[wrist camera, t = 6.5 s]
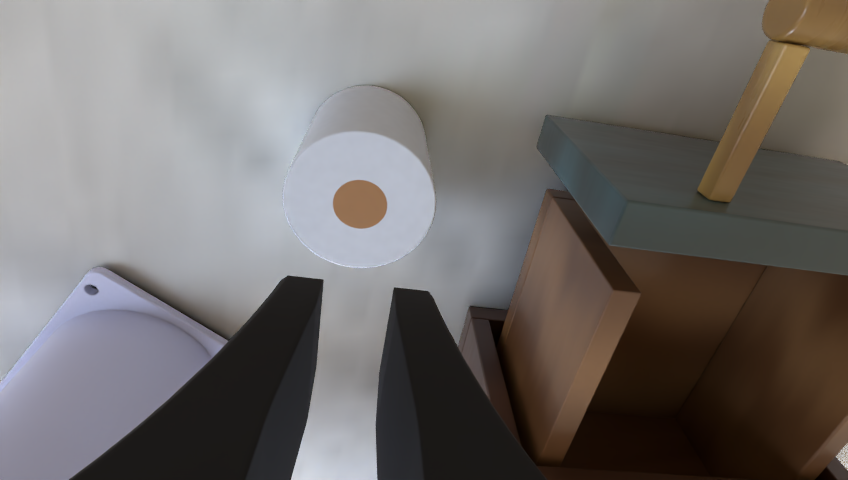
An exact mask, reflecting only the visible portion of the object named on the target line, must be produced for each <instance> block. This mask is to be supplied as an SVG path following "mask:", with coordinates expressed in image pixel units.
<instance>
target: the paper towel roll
mask: <svg viewBox="0 0 848 480" xmlns="http://www.w3.org/2000/svg"><path fill="white" fill-rule="evenodd" d="M283 207H284V211H285V215H286V218H287V220H288V223H289V225H290V227H291V228H292V230H293V232H294V233H295V235H296V236H297V237H298V239H299V240H300V241H301V242H302V243H303V244H304V245H305V246H306V247H307V248H308V249H309V250H311V251H312V252H313V253H315V254H316V255H318V256H319V257H321V258H323V259H325V260H327V261H329V262H332V263H335V264H338V265H342V266H346V267H353V268H371V267H378V266H383V265H386V264H389V263H392V262H394V261H397V260H399V259H401V258H402V257H404V256H406V255H407V254H409V253H410V252H411V251H412V250H414V249H415V248H416V247H417V246H418V245H419V244H420V243H421V241H422V240H423V239H424V237H425V236H426V235H427V233H428V231H429V229H430V227H431V225H432V222H433V219H434V215H435V211H436V192H435V186H434V181H433V175H432V170H431V164H430V158H429V153H428V147H427V142H426V136H425V131H424V127H423V125H422V122H421V120H420V118H419V116H418V114H417V113H416V111H415V110H414V108H413V107H412V106H411V105H410V104H409V103H408V102H407V101H406V100H404V99H403V98H402V97H401V96H399V95H397V94H396V93H394V92H392V91H390V90H387V89H384V88H381V87H376V86H367V85H363V86H354V87H350V88H346V89H344V90H341V91H339V92H337V93H335V94H334V95H332V96H331V97H330V98H328V99H327V100H326V101H325V102H324V103H323V104H322V105H321V106H320V108H319V109H318V110H317V112H316V114H315V116H314V118H313V120H312V122H311V124H310V126H309V128H308V130H307V132H306V134H305V136H304V138H303V140H302V143H301V145H300V147H299V149H298V151H297V153H296V155H295V157H294V159H293V161H292V163H291V166H290V168H289V170H288V172H287V175H286V178H285V181H284V186H283Z"/></svg>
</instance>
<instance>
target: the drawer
mask: <svg viewBox="0 0 848 480" xmlns="http://www.w3.org/2000/svg"><path fill="white" fill-rule="evenodd" d="M762 29H763V32H764V34H765V35H766V36H767V37H768V38H770V39H772V40H769V41H768V43H767V45H766V47H765V49H764V51H763V53H762V55H761V57H760V59H759V61H758V64H757V66H756V68H755V70H754V72H753V74H752V76H751V78H750V80H749V82H748V84H747V86H746V89H745V91H744V93H743V95H742V97H741V99H740V101H739V103H738V105H737V107H736V109H735V112H734V114H733V116H732V118H731V120H730V122H729V124H728V126H727V128H726V130H725V132H724V135H723V137H722V139H721V141H720V142H715V141H708V140H702V139H696V138H689V137H683V136H677V135H671V134H664V133H658V132H652V131H645V130H639V129H633V128H627V127H620V126H614V125H608V124H601V123H595V122H589V121H583V120H576V119H570V118H564V117H558V116H551V115H546V116H545V119H544V123H543V126H542V130H541V133H540V137H539V140H538V143H537V149H538V150H539V151H540V153H541V154H542V156H543V157H544V158H545V160H546V161H547V162H548V164H549V165H550V166H551V168H552V169H553V170H554V172H555V173H556V175H557V176H558V177H559V179H560V180H561V181H562V183H563V184H564V185H565V187H566V188H567V189H568V191H562V190H554V189H547V190H546V193H545V196H544V199H543V202H542V205H541V209H540V212H539V215H538V218H537V221H536V224H535V227H534V231H533V234H532V237H531V240H530V243H529V246H528V250H527V253H526V256H525V259H524V262H523V265H522V269H521V272H520V275H519V278H518V281H517V284H516V287H515V291H514V294H513V297H512V300H511V303H510V306H509V310H508V313H507V316H506V319H505V322H504V325H503V328H502V332H501V335H500V338H499V341H498V344H497V347H496V350H497V354H498V358H499V361H500V365H501V369H502V373H503V377H504V381H505V384H506V388H507V392H508V396H509V400H510V404H511V407H512V411H513V415H514V419H515V423H516V427H517V430H518V434H519V438H520V442H521V446H522V448H523V449H524V450H525V452H526V453H527V454H528V456H529V457H530V458H531V460H532V461H533V462H534V463H535V465H536V466H548V467H564V468H580V469H596V470H612V471H628V472H644V473H660V474H676V475H693V476H709V477H725V478H741V479H757V480H815V479H816V478H817V477H818V476H819V474H820V473H821V472H822V471H823V470H824V469H825V468H826V466H827V465H828V464H829V463H830V462H831V461H832V460H833V459H834V457H835V456H836V455H837V454H838V453H839V452H840V451H841V449H842V448H843V447H844V446H845V445H846V444H847V443H848V165H846V164H844V163H842V162H840V161H834V160H828V159H821V158H815V157H809V156H802V155H796V154H790V153H784V152H777V151H771V150H765V149H759V147H760V145H761V143H762V141H763V139H764V138H765V136H766V134H767V132H768V130H769V128H770V126H771V124H772V122H773V120H774V118H775V116H776V115H777V113H778V111H779V109H780V107H781V105H782V103H783V101H784V99H785V97H786V95H787V93H788V92H789V90H790V88H791V86H792V84H793V82H794V80H795V78H796V76H797V74H798V72H799V70H800V69H801V67H802V65H803V63H804V61H805V59H806V57H807V55H808V53H809V51H810V49H809V48H808V47H812V48H817V49H823V50H828V51H833V52H838V53H843V54H848V0H769V2H768V4H767V6H766V8H765V11H764V14H763V18H762ZM801 45H802V46H801ZM806 46H807V47H806Z"/></svg>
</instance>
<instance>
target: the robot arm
mask: <svg viewBox="0 0 848 480" xmlns="http://www.w3.org/2000/svg"><path fill="white" fill-rule="evenodd" d="M90 285H94V286H95V287H97V288H98V289H94V288H92V287H91V286H90ZM322 292H323V280H322V279H313V278H304V277H295V276H287V277H285V278H284V279H282V280H281V281H280V282H279V284H278V285H277V286H276V288H275V289H274V290H273V291H272V293H271V294H270V295H269V296H268V298H267V299H266V300H265V301H264V302H263V304H262V305H261V306H260V307H259V308H258V310H257V311H256V312H255V313H254V314H253V315H252V316H251V317H250V319H249V320H248V321H247V322H246V323H245V324H244V325H243V326H242V327H241V329H240V330H239V331H238V332H237V333H236V334H235V335H234V336H233V337H232V338H231V339H230V340H229V341H228V340H226V339H224V338H223V337H221V336H219V335H218V334H216V333H214V332H213V331H211V330H209V329H207V328H206V327H204V326H202V325H201V324H199V323H197V322H196V321H194V320H192V319H191V318H189V317H187V316H186V315H184V314H182V313H181V312H179V311H177V310H175V309H174V308H172V307H170V306H169V305H167V304H165V303H164V302H162V301H160V300H159V299H157V298H155V297H154V296H152V295H150V294H148V293H147V292H145V291H143V290H142V289H140V288H138V287H137V286H135V285H133V284H132V283H130V282H128V281H127V280H125V279H123V278H122V277H120V276H118V275H116V274H115V273H113V272H111V271H110V270H108V269H106V268H103V267H95V268H92V269H91V270H90V271H89V272H88V273H87V274H86V275H85V276H84V278H83V279H82V280H81V281H80V283H79V284H78V285H77V286H76V288H75V289H74V290H73V291H72V293H71V294H70V295H69V297H68V298H67V299H66V300H65V302H64V303H63V304H62V305H61V307H60V308H59V309H58V310H57V312H56V313H55V314H54V316H53V317H52V318H51V319H50V321H49V322H48V323H47V324H46V326H45V327H44V328H43V330H42V331H41V332H40V333H39V335H38V336H37V337H36V338H35V340H34V341H33V342H32V343H31V345H30V346H29V347H28V349H27V350H26V351H25V352H24V354H23V355H22V356H21V357H20V359H19V360H18V361H17V362H16V364H15V365H14V366H13V368H12V369H11V370H10V371H9V373H8V374H7V375H6V376H5V378H4V379H3V380H2V382H1V383H0V480H291V477H292V473H293V469H294V466H295V462H296V459H297V455H298V451H299V448H300V444H301V441H302V437H303V433H304V430H305V426H306V422H307V418H308V412H309V406H310V400H311V395H312V389H313V383H314V377H315V371H316V363H317V351H318V340H319V328H320V316H321V304H322ZM376 448H377V477H378V480H547V479H546V477H545V476H544V475H543V474H542V472H541V471H540V470H539V469H538V467H537V466H536V465H535V463H534V462H533V461H532V460H531V458H530V457H529V456H528V454H527V453H526V452H525V450H524V449H523V448H522V446H521V445H520V443H519V442H518V441H517V439H516V438H515V437H514V435H513V434H512V432H511V431H510V430H509V428H508V427H507V425H506V424H505V422H504V421H503V419H502V418H501V416H500V415H499V413H498V412H497V411H496V409H495V408H494V406H493V405H492V403H491V402H490V400H489V398H488V397H487V395H486V394H485V392H484V391H483V389H482V387H481V386H480V384H479V382H478V381H477V379H476V377H475V376H474V374H473V372H472V371H471V369H470V367H469V366H468V364H467V362H466V361H465V359H464V357H463V356H462V354H461V352H460V350H459V348H458V347H457V345H456V343H455V341H454V339H453V337H452V335H451V334H450V332H449V330H448V328H447V326H446V324H445V322H444V320H443V318H442V316H441V314H440V312H439V310H438V307H437V305H436V303H435V301H434V298H433V297H432V295H431V294H430V293H429V292H428V291H421V290H412V289H403V288H394V290H393V296H392V302H391V308H390V314H389V319H388V325H387V331H386V337H385V343H384V349H383V354H382V360H381V366H380V372H379V385H378V399H377V414H376Z"/></svg>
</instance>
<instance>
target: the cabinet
mask: <svg viewBox="0 0 848 480" xmlns="http://www.w3.org/2000/svg"><path fill="white" fill-rule="evenodd" d="M507 313H508V310H499V309H489V308H480V307H469V308H468V312H467V315H466V319H465V323H464V327H463V330H462V334H461V338H460V342H459V345H458V348H459V350H460V352H461V354H462V356H463V357H464V359H465V361H466V362H467V364H468V366H469V367H470V369H471V371H472V372H473V374H474V376H475V377H476V379H477V381H478V382H479V384H480V386H481V387H482V389H483V391H484V392H485V394H486V395H487V397H488V398H489V400H490V402H491V403H492V405H493V406H494V408H495V409H496V411H497V412H498V413H499V415H500V416H501V418H502V419H503V421H504V422H505V424H506V425H507V427H508V428H509V430H510V431H511V432H512V434H513V435H514V437H515V438H516V439H517V441H518V442H519V443H520V445H521V442H520V438H519V434H518V430H517V427H516V423H515V419H514V415H513V411H512V407H511V404H510V400H509V396H508V392H507V388H506V384H505V381H504V377H503V373H502V369H501V365H500V361H499V358H498V354H497V350H496V347H497V344H498V341H499V338H500V335H501V332H502V328H503V325H504V322H505V319H506V316H507ZM537 467H538V469H539V470H540V471H541V472H542V474H543V475H544V476H545V477H546V479H547V480H757V479H741V478H725V477H709V476H693V475H676V474H660V473H644V472H628V471H612V470H596V469H580V468H564V467H548V466H537ZM815 480H848V471H847V469H846V468H845V467H844V466H843V465H842V464H841V463H840V461H839V460H838V459H837V458H836V457H834V459H833V460H832V461H831V462H830V463H829V464H828V465H827V466H826V468H825V469H824V470H823V471H822V472H821V473H820V474H819V476H818V477H817V478H816V479H815Z"/></svg>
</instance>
